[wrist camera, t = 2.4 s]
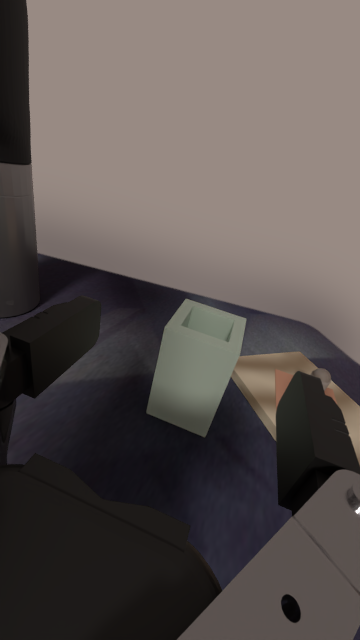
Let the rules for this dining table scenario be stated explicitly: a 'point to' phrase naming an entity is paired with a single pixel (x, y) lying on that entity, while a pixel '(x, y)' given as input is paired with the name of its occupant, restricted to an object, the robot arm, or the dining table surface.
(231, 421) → the dining table surface
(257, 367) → the post board
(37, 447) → the dining table surface
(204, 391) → the sleeve
